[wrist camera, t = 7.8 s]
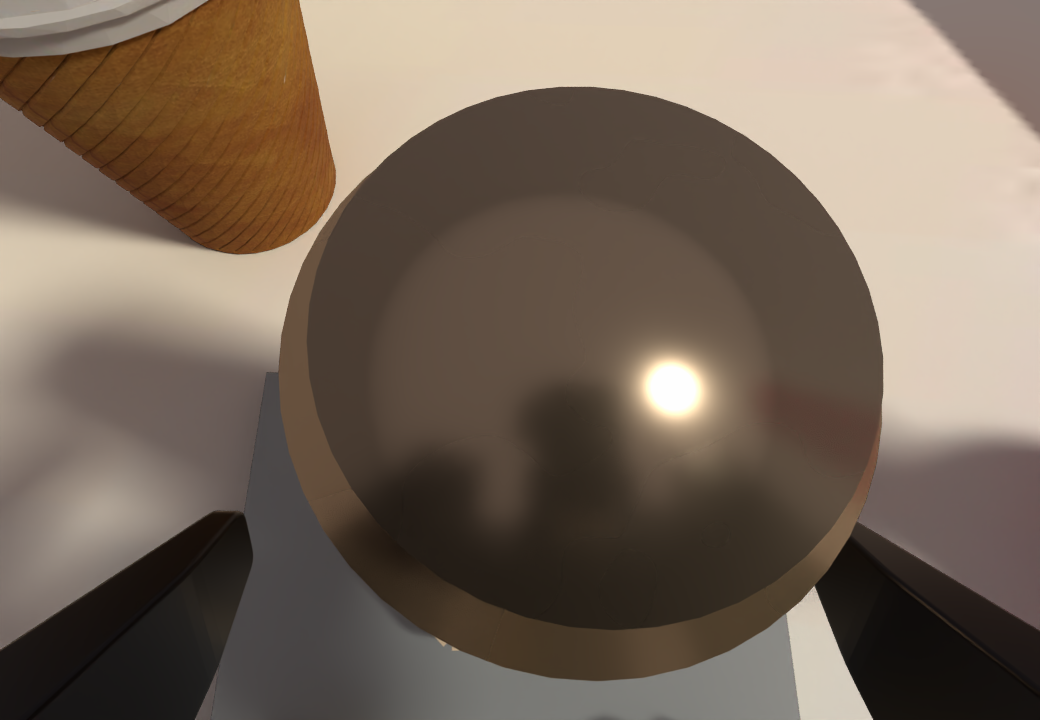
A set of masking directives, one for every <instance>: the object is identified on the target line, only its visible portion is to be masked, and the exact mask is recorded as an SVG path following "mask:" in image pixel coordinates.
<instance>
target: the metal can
mask: <svg viewBox="0 0 1040 720" xmlns="http://www.w3.org/2000/svg"><path fill="white" fill-rule="evenodd" d="M278 373H279V391H280V408H281V416H282V421H283V426H284V431H285V436H286V440H287V445H288V450H289V454H290V457H291V459H292V462H293V465H294V468H295V471H296V473H297V476H298V479H299V482H300V485H301V488H302V490H303V493H304V495H305V496H306V498H307V500H308V502H309V504H310V506H311V508H312V510H313V512H314V514H315V515H316V517H317V519H318V521H319V523H320V525H321V527H322V529H323V530H324V532H325V533H326V535H327V536H328V537H329V539H330V540H331V541H332V543H333V544H334V546H335V547H336V548H337V550H338V551H339V552H340V554H341V555H342V557H343V558H344V559H345V561H346V562H347V563H348V565H349V566H350V567H351V568H352V569H353V570H354V571H355V572H356V573H357V574H358V575H359V577H360V578H361V579H362V580H363V581H364V582H365V583H366V584H367V585H368V586H369V587H370V588H371V589H372V590H373V591H374V592H375V593H376V594H377V595H378V596H379V597H380V598H381V599H382V600H383V601H385V602H386V603H387V604H389V605H390V606H391V607H392V608H394V609H395V610H396V611H398V612H399V613H400V614H402V615H403V616H404V617H405V618H407V619H408V620H409V621H411V622H412V623H413V624H415V625H416V626H417V627H418V628H420V629H422V630H424V631H426V632H427V633H429V634H431V635H433V636H434V637H436V638H438V639H440V640H442V641H443V642H445V643H447V644H449V645H451V646H452V647H454V648H456V649H458V650H459V651H462V652H465V653H467V654H470V655H472V656H475V657H478V658H480V659H483V660H485V661H488V662H491V663H493V664H496V665H498V666H501V667H504V668H508V669H512V670H517V671H521V672H526V673H530V674H535V675H539V676H544V677H548V678H557V679H571V680H585V681H609V680H622V679H635V678H645V677H650V676H654V675H658V674H662V673H667V672H671V671H675V670H680V669H684V668H688V667H691V666H693V665H696V664H698V663H701V662H703V661H706V660H708V659H711V658H713V657H716V656H718V655H721V654H723V653H726V652H728V651H730V650H732V649H734V648H735V647H737V646H739V645H741V644H742V643H744V642H746V641H747V640H749V639H751V638H752V637H754V636H756V635H757V634H759V633H761V632H762V631H764V630H766V629H767V628H769V627H770V626H771V625H772V624H774V623H775V622H776V621H777V620H778V619H780V618H781V617H782V616H783V615H784V614H786V613H787V612H788V611H789V610H790V609H792V608H793V607H794V606H795V605H796V604H798V603H799V602H800V601H801V600H802V599H803V598H804V597H805V595H806V594H807V593H808V592H809V591H810V590H811V589H812V588H813V586H814V585H815V584H816V583H817V582H818V581H819V580H820V579H821V577H822V576H823V575H824V574H825V573H826V572H827V571H828V569H829V568H830V566H831V565H832V563H833V562H834V560H835V558H836V557H837V555H838V554H839V552H840V551H841V549H842V548H843V546H844V544H845V543H846V541H847V540H848V538H849V537H850V535H851V533H852V530H853V528H854V526H855V524H856V521H857V519H858V517H859V515H860V512H861V510H862V508H863V506H864V504H865V501H866V499H867V495H868V492H869V488H870V484H871V481H872V477H873V474H874V470H875V467H876V463H877V456H878V449H879V441H880V434H881V426H882V398H883V354H882V347H881V340H880V333H879V326H878V321H877V317H876V313H875V310H874V306H873V303H872V299H871V296H870V292H869V289H868V286H867V284H866V281H865V279H864V277H863V274H862V272H861V270H860V267H859V265H858V262H857V260H856V258H855V256H854V254H853V252H852V251H851V249H850V247H849V245H848V244H847V242H846V240H845V238H844V237H843V235H842V233H841V231H840V229H839V228H838V226H837V225H836V224H835V222H834V221H833V220H832V218H831V217H830V216H829V214H828V213H827V211H826V210H825V209H824V207H823V206H822V205H821V203H820V202H819V201H818V200H817V198H816V197H815V196H814V195H813V194H812V193H811V192H810V191H809V190H808V189H807V188H806V186H805V185H804V184H803V183H802V182H801V181H800V180H799V179H798V178H797V177H796V176H795V175H794V174H793V173H792V172H791V171H790V170H788V169H787V168H786V167H785V166H784V165H783V164H782V163H780V162H779V161H778V160H777V159H776V158H775V157H774V156H772V155H771V154H770V153H768V152H767V151H766V150H764V149H763V148H761V147H760V146H759V145H757V144H756V143H754V142H753V141H751V140H750V139H749V138H747V137H746V136H744V135H743V134H741V133H739V132H737V131H735V130H734V129H732V128H730V127H728V126H726V125H725V124H723V123H721V122H719V121H718V120H716V119H713V118H711V117H709V116H707V115H704V114H702V113H700V112H697V111H695V110H693V109H690V108H688V107H686V106H683V105H679V104H676V103H673V102H670V101H667V100H664V99H660V98H657V97H654V96H649V95H644V94H639V93H634V92H630V91H625V90H616V89H607V88H597V87H555V88H546V89H537V90H528V91H523V92H519V93H514V94H509V95H505V96H500V97H496V98H493V99H490V100H487V101H484V102H481V103H479V104H476V105H473V106H470V107H467V108H465V109H463V110H460V111H458V112H456V113H454V114H452V115H450V116H448V117H446V118H444V119H441V120H439V121H437V122H436V123H434V124H433V125H431V126H429V127H428V128H426V129H425V130H423V131H422V132H420V133H418V134H417V135H415V136H414V137H412V138H411V139H409V140H408V141H407V142H406V143H404V144H403V145H402V146H401V147H400V148H398V149H397V150H396V151H395V152H393V153H392V154H391V155H390V156H388V157H387V158H386V159H385V160H384V161H383V162H382V163H381V164H380V165H379V166H378V167H377V169H375V170H374V171H373V172H372V173H371V174H369V175H368V176H367V177H366V178H364V180H363V181H362V182H361V183H360V184H359V185H358V186H357V187H356V188H355V189H354V190H353V191H352V192H351V193H350V194H349V195H348V196H347V197H346V198H345V200H344V201H343V202H342V203H341V204H340V205H339V207H338V208H337V209H336V211H335V212H334V213H333V215H332V216H331V218H330V219H329V220H328V222H327V223H326V224H325V226H324V227H323V228H322V230H321V231H320V233H319V235H318V237H317V238H316V240H315V242H314V244H313V246H312V248H311V249H310V251H309V253H308V255H307V257H306V259H305V260H304V262H303V264H302V267H301V270H300V272H299V275H298V278H297V280H296V283H295V286H294V288H293V291H292V293H291V296H290V300H289V304H288V308H287V313H286V317H285V322H284V326H283V330H282V336H281V348H280V360H279V371H278Z"/></svg>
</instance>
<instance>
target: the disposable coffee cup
mask: <svg viewBox="0 0 1040 720" xmlns="http://www.w3.org/2000/svg"><path fill="white" fill-rule="evenodd" d="M0 98H1V99H2V100H4V101H5V102H7V103H8V104H10V105H11V106H12V107H14V108H15V109H17V110H18V111H21V110H22V112H23V115H24V116H25V117H27V118H28V119H29V120H31V121H32V122H34V123H35V124H36V125H38V126H39V127H41V126H44V130H45V131H46V132H47V133H49V134H50V135H52V136H53V137H55V138H56V139H57V140H59V141H60V142H63V141H64V143H65V146H66V147H68V148H69V149H71V150H72V151H73V152H75V153H76V154H78V155H79V156H80V155H82V158H83V159H84V160H85V161H87V162H88V163H90V164H91V165H93V166H94V167H95V168H99V171H100V172H102V173H103V174H105V175H106V176H107V177H109V178H110V179H112V180H115V181H116V183H117V184H118V185H119V186H121V187H122V188H124V189H125V190H127V191H130V194H132V195H133V196H135V197H136V198H137V199H139V200H140V201H143V202H144V204H145V205H147V206H148V207H150V208H151V209H153V210H154V211H156V212H157V213H158V214H159V215H160V216H162V217H163V218H165V219H166V220H168V222H170V223H171V224H173V225H174V226H175V227H177V228H179V229H180V230H181V231H182V232H184V233H185V234H186V235H187V236H189V237H190V238H191V239H192V240H194V241H196V242H198V243H199V244H201V245H203V246H205V247H207V248H211V249H215V250H218V251H222V252H226V253H235V254H246V253H258V252H263V251H267V250H271V249H275V248H277V247H280V246H282V245H285V244H287V243H290V242H291V241H293V240H294V239H296V238H297V237H299V236H300V235H302V234H304V233H305V232H307V231H308V230H309V229H310V228H311V227H312V226H313V225H314V224H315V223H317V221H318V220H319V218H320V217H321V216H322V214H323V213H324V212H325V210H326V209H327V207H328V205H329V203H330V200H331V198H332V196H333V193H334V188H335V184H336V170H335V166H334V161H333V157H332V154H331V149H330V145H329V140H328V135H327V129H326V125H325V121H324V116H323V111H322V107H321V102H320V97H319V91H318V86H317V82H316V78H315V73H314V69H313V65H312V60H311V55H310V51H309V46H308V40H307V35H306V31H305V27H304V23H303V17H302V12H301V8H300V3H299V0H0Z"/></svg>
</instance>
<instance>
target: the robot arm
mask: <svg viewBox="0 0 1040 720" xmlns="http://www.w3.org/2000/svg"><path fill="white" fill-rule="evenodd" d="M252 563H253V548H252V544H251V539H250V535H249V530H248V525H247V521H246V518H245V515H244V514H243V513H242V512H240V511H214V512H211V513H209V514H208V515H206V516H205V517H203V518H202V519H200V520H198V521H197V522H195V523H194V524H192V525H191V526H189V527H188V528H186V529H185V530H183V531H182V532H180V533H179V534H177V535H175V536H174V537H172V538H171V539H169V540H168V541H166V542H165V543H163V544H162V545H160V546H159V547H157V548H156V549H154V550H153V551H151V552H149V553H148V554H146V555H145V556H143V557H142V558H140V559H139V560H137V561H136V562H134V563H133V564H131V565H130V566H128V567H126V568H125V569H123V570H122V571H120V572H119V573H117V574H116V575H114V576H113V577H111V578H110V579H108V580H107V581H105V582H103V583H102V584H100V585H99V586H97V587H96V588H94V589H93V590H91V591H90V592H88V593H87V594H85V595H84V596H82V597H80V598H79V599H77V600H76V601H74V602H73V603H71V604H70V605H68V606H67V607H65V608H64V609H62V610H61V611H59V612H57V613H56V614H54V615H53V616H51V617H50V618H48V619H47V620H45V621H44V622H42V623H41V624H39V625H38V626H36V627H35V628H33V629H31V630H30V631H28V632H27V633H25V634H24V635H22V636H21V637H19V638H18V639H16V640H15V641H13V642H12V643H10V644H8V645H7V646H5V647H4V648H2V649H1V650H0V720H195V718H196V716H197V713H198V711H199V709H200V707H201V705H202V702H203V700H204V698H205V696H206V693H207V691H208V689H209V687H210V685H211V682H212V680H213V678H214V675H215V673H216V671H217V668H218V666H219V663H220V660H221V657H222V655H223V652H224V649H225V646H226V643H227V640H228V637H229V634H230V631H231V628H232V625H233V622H234V619H235V616H236V613H237V610H238V607H239V604H240V601H241V598H242V595H243V592H244V589H245V586H246V583H247V580H248V577H249V574H250V571H251V568H252ZM815 588H816V590H817V593H818V596H819V598H820V601H821V603H822V606H823V608H824V611H825V613H826V616H827V619H828V621H829V624H830V626H831V629H832V631H833V634H834V637H835V639H836V642H837V644H838V647H839V649H840V652H841V654H842V656H843V659H844V661H845V663H846V666H847V668H848V670H849V672H850V674H851V676H852V678H853V680H854V683H855V685H856V687H857V689H858V691H859V692H860V694H861V696H862V698H863V700H864V702H865V704H866V706H867V708H868V710H869V712H870V714H871V716H872V718H873V720H1040V630H1038V629H1036V628H1035V627H1033V626H1031V625H1030V624H1028V623H1026V622H1025V621H1023V620H1021V619H1019V618H1018V617H1016V616H1014V615H1013V614H1011V613H1009V612H1008V611H1006V610H1004V609H1003V608H1001V607H999V606H998V605H996V604H994V603H993V602H991V601H989V600H988V599H986V598H984V597H983V596H981V595H979V594H978V593H976V592H974V591H973V590H971V589H969V588H968V587H966V586H964V585H962V584H961V583H959V582H957V581H956V580H954V579H952V578H951V577H949V576H947V575H946V574H944V573H942V572H941V571H939V570H937V569H936V568H934V567H932V566H931V565H929V564H927V563H926V562H924V561H922V560H921V559H919V558H917V557H916V556H914V555H912V554H911V553H909V552H907V551H906V550H904V549H902V548H900V547H899V546H897V545H895V544H894V543H892V542H890V541H889V540H887V539H885V538H884V537H882V536H880V535H879V534H877V533H875V532H874V531H872V530H870V529H869V528H867V527H865V526H864V525H862V524H860V523H859V522H857V521H856V524H855V526H854V528H853V530H852V533H851V535H850V537H849V538H848V540H847V541H846V543H845V544H844V546H843V548H842V549H841V551H840V552H839V554H838V555H837V557H836V558H835V560H834V562H833V563H832V565H831V566H830V568H829V569H828V571H827V572H826V573H825V574H824V575H823V576H822V577H821V579H820V580H819V581H818V582H817V583H816V584H815Z"/></svg>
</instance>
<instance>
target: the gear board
mask: <svg viewBox="0 0 1040 720" xmlns="http://www.w3.org/2000/svg"><path fill="white" fill-rule="evenodd" d="M244 515H245V518H246V521H247V525H248V530H249V535H250V539H251V544H252V548H253V563H252V568H251V571H250V574H249V577H248V580H247V583H246V586H245V589H244V592H243V595H242V598H241V601H240V604H239V607H238V610H237V613H236V616H235V619H234V622H233V625H232V628H231V631H230V634H229V637H228V640H227V643H226V646H225V649H224V652H223V655H222V657H221V660H220V665H219V671H218V677H217V684H216V690H215V696H214V702H213V708H212V715H211V720H800V713H799V706H798V698H797V691H796V683H795V676H794V668H793V661H792V653H791V646H790V638H789V631H788V623H787V616H786V614H784V615H783V616H782V617H781V618H780V619H778V620H777V621H776V622H775V623H774V624H772V625H771V626H770V627H769V628H767V629H766V630H764V631H762V632H761V633H759V634H757V635H756V636H754V637H752V638H751V639H749V640H747V641H746V642H744V643H742V644H741V645H739V646H737V647H735V648H734V649H732V650H730V651H728V652H726V653H723V654H721V655H718V656H716V657H713V658H711V659H708V660H706V661H703V662H701V663H698V664H696V665H693V666H691V667H688V668H684V669H680V670H675V671H671V672H667V673H662V674H658V675H654V676H650V677H645V678H635V679H622V680H609V681H585V680H571V679H557V678H548V677H544V676H539V675H535V674H530V673H526V672H521V671H517V670H512V669H508V668H504V667H501V666H498V665H496V664H493V663H491V662H488V661H485V660H483V659H480V658H478V657H475V656H472V655H470V654H467V653H465V652H462V651H459V650H458V649H456V648H454V647H452V646H451V645H449V644H447V643H445V642H443V641H442V640H440V639H438V638H436V637H434V636H433V635H431V634H429V633H427V632H426V631H424V630H422V629H420V628H418V627H417V626H416V625H415V624H413V623H412V622H411V621H409V620H408V619H407V618H405V617H404V616H403V615H402V614H400V613H399V612H398V611H396V610H395V609H394V608H392V607H391V606H390V605H389V604H387V603H386V602H385V601H383V600H382V599H381V598H380V597H379V596H378V595H377V594H376V593H375V592H374V591H373V590H372V589H371V588H370V587H369V586H368V585H367V584H366V583H365V582H364V581H363V580H362V579H361V578H360V577H359V575H358V574H357V573H356V572H355V571H354V570H353V569H352V568H351V567H350V566H349V565H348V563H347V562H346V561H345V559H344V558H343V557H342V555H341V554H340V552H339V551H338V550H337V548H336V547H335V546H334V544H333V543H332V541H331V540H330V539H329V537H328V536H327V535H326V533H325V532H324V530H323V529H322V527H321V525H320V523H319V521H318V519H317V517H316V515H315V514H314V512H313V510H312V508H311V506H310V504H309V502H308V500H307V498H306V496H305V495H304V493H303V490H302V488H301V485H300V482H299V479H298V476H297V473H296V471H295V468H294V465H293V462H292V459H291V457H290V454H289V450H288V445H287V440H286V436H285V431H284V426H283V421H282V416H281V408H280V391H279V373H271V372H267V373H266V380H265V386H264V392H263V398H262V404H261V411H260V417H259V423H258V429H257V435H256V442H255V448H254V454H253V460H252V466H251V473H250V479H249V485H248V491H247V497H246V504H245V510H244Z"/></svg>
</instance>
